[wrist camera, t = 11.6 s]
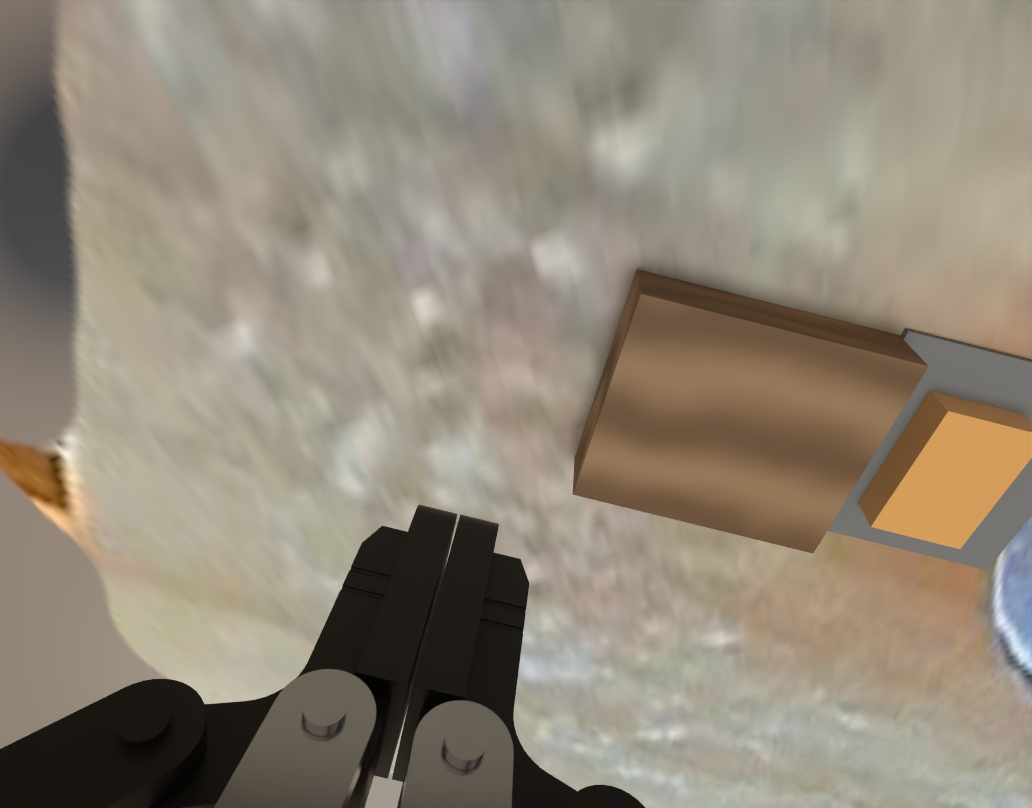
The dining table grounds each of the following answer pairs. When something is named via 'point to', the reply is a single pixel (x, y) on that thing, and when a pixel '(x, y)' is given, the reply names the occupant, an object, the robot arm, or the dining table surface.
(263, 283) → the dining table surface
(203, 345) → the dining table surface
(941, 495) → the orange rectangular block
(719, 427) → the wooden block
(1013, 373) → the mat
